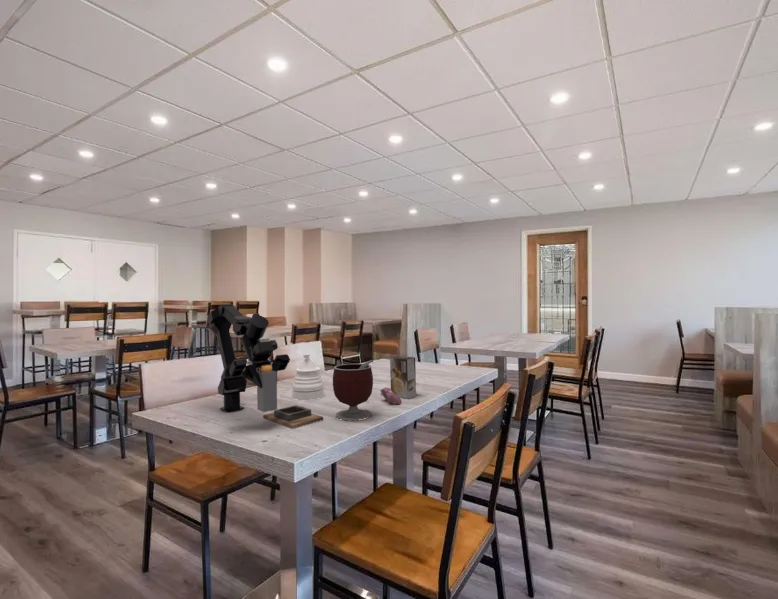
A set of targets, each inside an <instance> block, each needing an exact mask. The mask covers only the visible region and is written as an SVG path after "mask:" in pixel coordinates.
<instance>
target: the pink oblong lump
mask: <svg viewBox="0 0 778 599" xmlns="http://www.w3.org/2000/svg"><path fill="white" fill-rule="evenodd" d="M380 396H381V397H383V398H384V399H385V401H386V402H387V401H388V402H387V403H388V404H390V403H391V404H393V403H394V404H396V405H401V404H402V399H401V398H400V397H397V396H396V395H395V394H394V393H393V392H392V391H391V387H383V388H381V389H380Z"/></svg>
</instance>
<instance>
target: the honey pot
mask: <svg viewBox="0 0 778 599" xmlns="http://www.w3.org/2000/svg"><path fill="white" fill-rule="evenodd" d="M320 371H321V367H320V366H317V364H316V362H315V361H314V360H313V359H312V357H311V356H310V353H304V354H303V359H302V361H301V362H300V364H299V366H298V367H297V368H296V369H295V372H296V374H295V376H294V379H293V383H292V387H291V388H292V390H291V391H292V397H293V398H294V399H298V400H297V401H300V400H309V401H311V400H310V399H316V400H318V399H317V398H320V397H323V396H325V391H324V390H325V388H324V387H325V386H324V382H323V378H322V375H321V374H320ZM293 398H292V399H293ZM323 398H324V397H323ZM294 399H293V400H294ZM320 399H321V398H320Z"/></svg>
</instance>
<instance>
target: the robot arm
mask: <svg viewBox="0 0 778 599" xmlns="http://www.w3.org/2000/svg"><path fill="white" fill-rule="evenodd" d="M269 322H270V321H269V320H268V318H266V317H264V316H262V315H260V313H252V316H246V315H244V314H243V313H241V312H240V311H239V310H238V309H237V308H236V307H235V305H234V304H232V303H231V304H230V303H229V304H226V303H225V304H220V305H218V307H217V308H215V309H213V310H211V311H210V312H209V314H208V315H207V323H208V325H209V328H210V331H212V332H213V333H214V334H215V335H216V338H217V343H218V347H219V353H220V358H221V363H222V365H223V366H222V367H223V371H222V372H221V373H222V374H221V375H220V381H219V383H218V386H217V393H218V395H221V396H223V406H222V407H220V408H219V410H222V411H223V412H226V413H230V412H235V411H239V410H243V409H245V407H244V406H242V405H241V393H245V392H246V391H247V390H246V389H247V381H250V382H252V383H253V384H254V385H256V386H258V387H259V388H262V383H261V380H260V378H259V375H258V373H257V372H258V371H257V369H261V366H262V365H272V371H276V372H277V373H278V372H279V371H280V372H281V371H285V370H286V369H287V368H288V364H289V362H290V361H291V358H290V356H289V355H288V353H287V354H286V353H284V354H276V356H275V357H274V359H269V358H271V356H272V355H271V353H272V352H275V351H276V350H277V349H278V348H279V346H278V343H277V340H276V339H271V340H269V341H261V339H262V338H264V335H265V333H266V331H267V329H268V326H269ZM231 327H232V332H233V333H234V334H235V336H238V337H239V336H241V339H240V341H241V342H240V347H243V348H244V349H243V350H244V352H245V354H246V355H245V358H240V359H236V355H235V350H234V346H233V342H232V337H231V334H230V333H231V332H230V330H231Z"/></svg>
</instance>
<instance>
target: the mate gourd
mask: <svg viewBox="0 0 778 599" xmlns="http://www.w3.org/2000/svg"><path fill="white" fill-rule="evenodd" d="M371 363H374V360H373V359H370V360H368V361H366V362H364V363H345V364H344V363H342V364H338V365H335V366H334V367H333V373H332V388H333V394H334V397H336V398H335V399H337V401H338V402H340V403H341V404H345V405H347V406H348V409H344V410H341V411H338V412H336V413H335V418H336V419H337V418H338V419H337V420H339V419H342V420H341V421H343V420H359V419H364V418H367V417H370V416H372V412H371V411H369V410H366V409H361V408H359V407H358V406H359V405H361V404H364V403H365V402H367V401H368V400H369V398H371V395H372V392H373V387H374V375H373V371H372V370H373V369H372V366H371V365H370V364H371ZM370 418H371V417H370Z"/></svg>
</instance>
